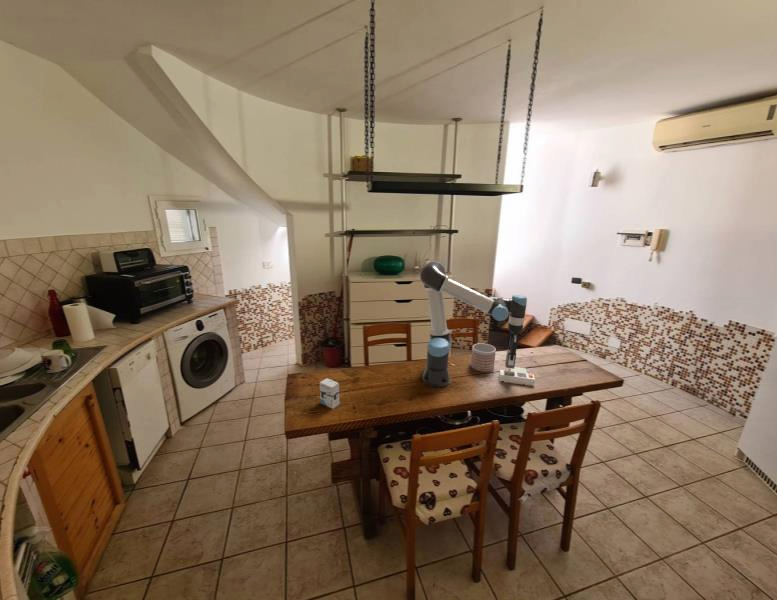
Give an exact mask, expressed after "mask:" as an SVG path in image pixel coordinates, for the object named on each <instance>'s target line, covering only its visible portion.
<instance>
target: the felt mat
mask: <svg viewBox="0 0 777 600" xmlns="http://www.w3.org/2000/svg"><path fill="white" fill-rule="evenodd" d="M509 371H515V372H522V373H528V371H527V368H525V367H518V366H515V367H514V369H512V368H509Z"/></svg>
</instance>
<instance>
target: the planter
mask: <svg viewBox="0 0 777 600" xmlns="http://www.w3.org/2000/svg"><path fill="white" fill-rule="evenodd" d="M496 351H497V349H496V347H495V346H493V345H491V344H489V343H482V342H479V343H475V344H473V345H472V348H471V357H470V358H471V359H470V367H471V368H472V369H474V370H475V371H478V372H483V373H488V372H491V371H493V370H494V368H495V361H496V353H497V352H496Z"/></svg>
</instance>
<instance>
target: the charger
mask: <svg viewBox="0 0 777 600" xmlns="http://www.w3.org/2000/svg"><path fill="white" fill-rule="evenodd" d="M506 350H507V351H506V357H505V363H504V364H505V368H507V369H510V368H512V369H514V367H516V365H515V364H516V360H517V354H516V355H515V357H514V364H513V365H508V360H509V353H510V349H506Z"/></svg>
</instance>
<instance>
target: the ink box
mask: <svg viewBox="0 0 777 600" xmlns="http://www.w3.org/2000/svg"><path fill="white" fill-rule="evenodd" d="M319 398H320V399H319V400H320V401H319V402H320V404H322V405H323V406H326V407H328V408H330V409H332V410H334V409H335V408H336V407H338V406H340V383H339V382H338V381H334V380H333V379H330V378H325V379H323V380H320V381H319Z"/></svg>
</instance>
